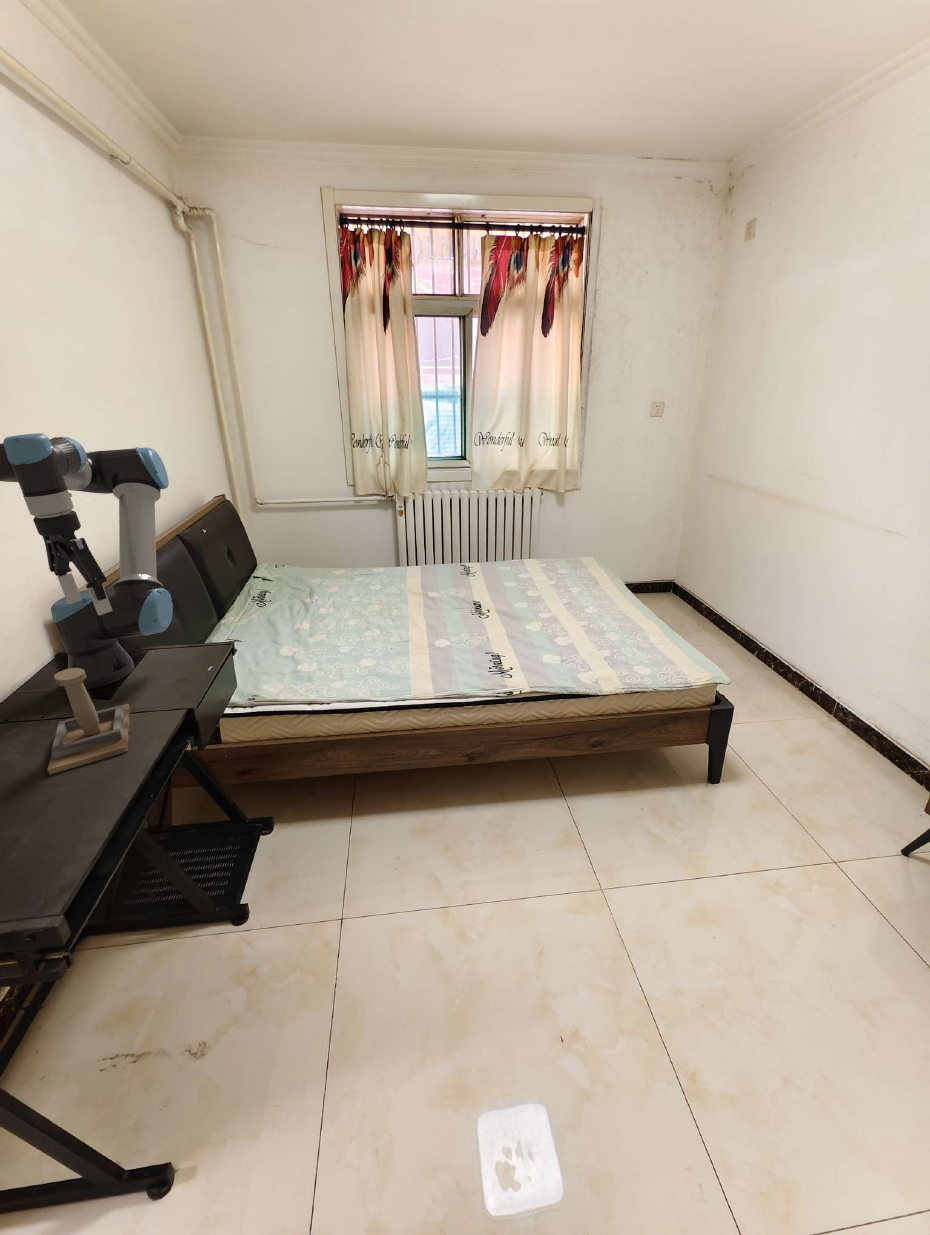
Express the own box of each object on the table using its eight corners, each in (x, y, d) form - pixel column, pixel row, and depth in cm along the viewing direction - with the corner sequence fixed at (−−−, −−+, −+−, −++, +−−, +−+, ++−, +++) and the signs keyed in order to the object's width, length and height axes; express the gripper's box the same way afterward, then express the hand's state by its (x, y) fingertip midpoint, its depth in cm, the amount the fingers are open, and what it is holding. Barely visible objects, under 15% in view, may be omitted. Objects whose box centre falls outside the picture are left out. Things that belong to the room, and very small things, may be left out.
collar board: (62, 726, 129) (57, 714, 128) (130, 707, 135) (125, 696, 134) (49, 774, 113) (43, 762, 111) (127, 751, 118) (122, 739, 117)
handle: (91, 742, 120) (67, 681, 114) (73, 736, 123) (48, 677, 117) (112, 729, 124) (90, 670, 118) (94, 724, 127) (71, 666, 121)
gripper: (103, 514, 111) (136, 611, 120) (46, 503, 124) (80, 591, 133) (62, 524, 105) (100, 624, 114) (7, 512, 118) (45, 603, 127)
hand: (89, 607), depth 124 cm, fingers open, 13 cm apart
